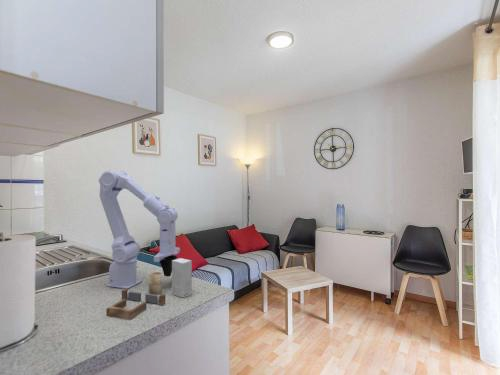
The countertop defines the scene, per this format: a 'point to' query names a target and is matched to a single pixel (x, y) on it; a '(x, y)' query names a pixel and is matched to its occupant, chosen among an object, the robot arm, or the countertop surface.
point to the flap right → (152, 298)
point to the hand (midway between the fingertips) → (167, 275)
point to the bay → (124, 310)
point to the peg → (155, 283)
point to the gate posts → (161, 297)
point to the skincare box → (181, 277)
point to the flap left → (134, 295)
